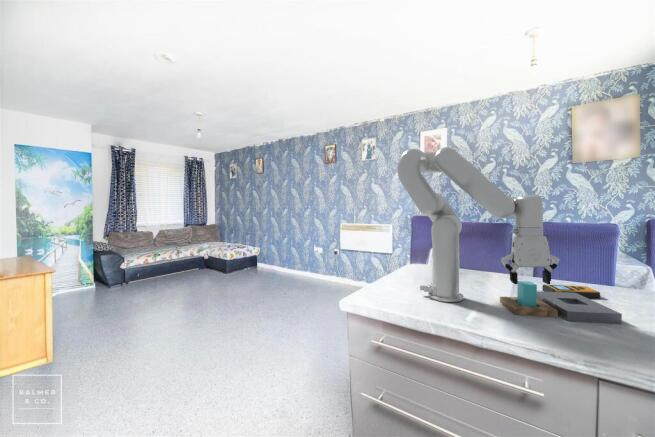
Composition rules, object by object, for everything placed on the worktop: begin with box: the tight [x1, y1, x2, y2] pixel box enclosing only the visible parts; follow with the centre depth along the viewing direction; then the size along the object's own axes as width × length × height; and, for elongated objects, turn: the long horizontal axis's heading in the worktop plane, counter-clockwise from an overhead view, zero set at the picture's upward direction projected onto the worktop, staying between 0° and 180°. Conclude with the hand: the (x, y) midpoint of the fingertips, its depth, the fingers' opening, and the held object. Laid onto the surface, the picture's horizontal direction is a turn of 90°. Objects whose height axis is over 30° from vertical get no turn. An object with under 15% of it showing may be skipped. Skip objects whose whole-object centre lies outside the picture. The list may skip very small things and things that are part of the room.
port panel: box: [537, 290, 623, 325], centre depth 94 cm, size 14×20×3 cm
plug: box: [516, 280, 538, 307], centre depth 96 cm, size 4×4×9 cm
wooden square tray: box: [499, 296, 559, 318], centre depth 96 cm, size 12×12×2 cm
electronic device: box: [542, 284, 601, 300], centre depth 110 cm, size 8×16×3 cm, turn 77°
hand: (530, 283), depth 95 cm, fingers open, 9 cm apart
